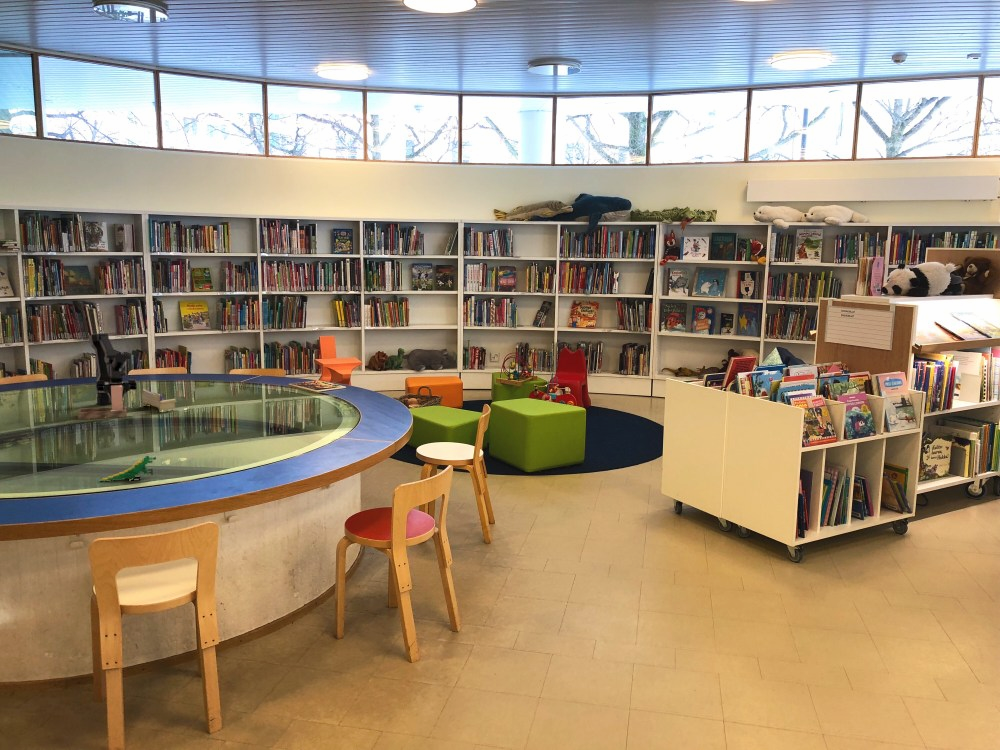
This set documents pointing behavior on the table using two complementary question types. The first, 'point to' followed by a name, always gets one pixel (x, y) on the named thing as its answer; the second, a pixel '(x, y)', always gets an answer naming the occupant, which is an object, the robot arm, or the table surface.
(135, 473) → the crocodile
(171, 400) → the toy sofa
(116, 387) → the coral block
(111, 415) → the box
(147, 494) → the table surface
